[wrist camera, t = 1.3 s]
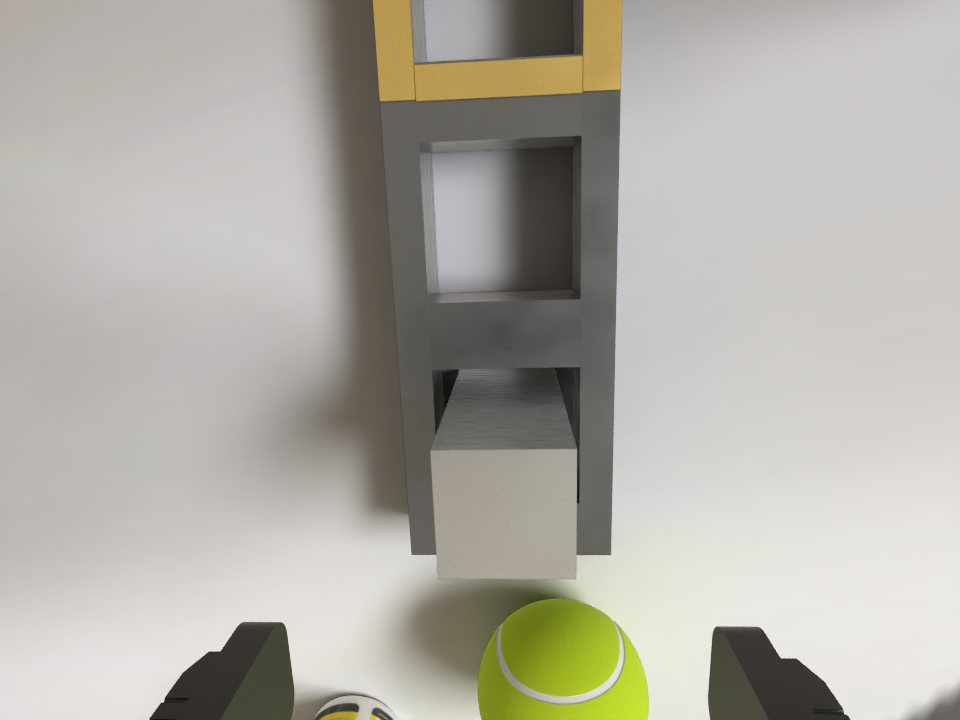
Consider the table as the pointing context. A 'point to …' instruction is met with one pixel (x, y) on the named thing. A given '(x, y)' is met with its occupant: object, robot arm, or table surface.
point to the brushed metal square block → (505, 478)
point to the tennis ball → (561, 667)
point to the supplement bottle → (355, 709)
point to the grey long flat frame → (504, 314)
